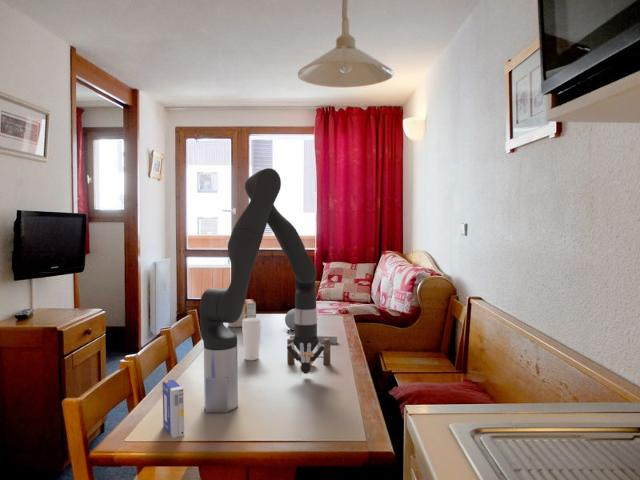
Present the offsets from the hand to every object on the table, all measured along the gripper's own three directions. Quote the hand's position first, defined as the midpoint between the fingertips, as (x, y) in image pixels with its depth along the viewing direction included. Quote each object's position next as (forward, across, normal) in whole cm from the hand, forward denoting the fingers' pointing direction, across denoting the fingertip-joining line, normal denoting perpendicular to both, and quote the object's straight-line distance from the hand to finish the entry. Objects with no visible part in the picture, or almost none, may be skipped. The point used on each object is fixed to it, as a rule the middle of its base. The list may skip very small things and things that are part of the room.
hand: (305, 372), depth 149 cm
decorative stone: (+2, -10, +64) cm, 65 cm away
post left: (+2, -7, +14) cm, 16 cm away
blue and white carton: (+2, -30, -39) cm, 49 cm away
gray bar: (+2, 0, +42) cm, 42 cm away
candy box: (+2, -30, +56) cm, 64 cm away
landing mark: (+2, 0, +29) cm, 29 cm away
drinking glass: (+2, -22, +19) cm, 29 cm away
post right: (+2, +6, +14) cm, 16 cm away
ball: (-2, -1, +12) cm, 12 cm away
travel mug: (+2, -40, +71) cm, 82 cm away
